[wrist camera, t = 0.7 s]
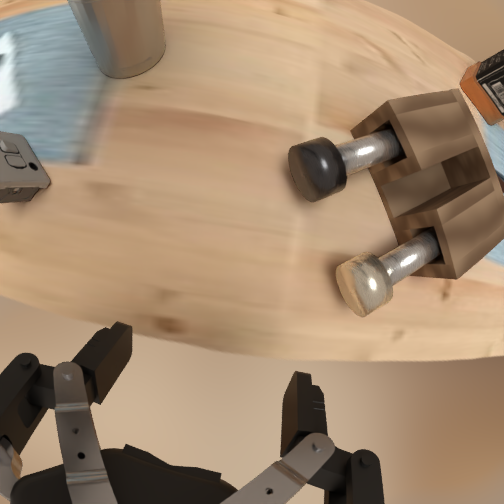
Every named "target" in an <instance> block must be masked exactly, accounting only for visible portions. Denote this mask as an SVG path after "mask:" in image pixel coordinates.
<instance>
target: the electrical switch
mask: <svg viewBox="0 0 504 504" xmlns="http://www.w3.org/2000/svg"><path fill="white" fill-rule="evenodd" d="M49 183H50V179H49V177H48V176H47V174H46V173H45V171H44V169H43V168H42V166H41V165H40V163H39V161H38V160H37V158H36V156H35V155H34V153H33V151H32V150H31V148H30V146H29V145H28V143H27V141H26V139H25V138H24V137H23V136H22V135H19V134H13V133H7V132H1V131H0V203H9V202H22V201H30V200H31V199H32V197H33V196H34V194H35V193H36V192H37V191H38V189H39V188H47V186H48V184H49ZM14 191H16V193H13V192H14ZM20 191H21V192H20ZM19 192H20V193H19Z"/></svg>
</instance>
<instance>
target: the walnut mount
mask: <svg viewBox="0 0 504 504" xmlns="http://www.w3.org/2000/svg"><path fill="white" fill-rule="evenodd" d="M391 128H394V130H395V132H396V134H397V136H398V138H399V140H400V143H401V145H402V147H403V149H404V151H405V153H406V154H403V155H401V156H398V157H395V158H392V159H390V160H387V161H384V162H382V163H379V164H376V165H373V166H371V167H368V169H369V171H370V173H371V175H372V178H373V180H374V182H375V185H376V187H377V189H378V192H379V194H380V196H381V199H382V201H383V204H384V206H385V209H386V211H387V214H388V217H389V219H390V222H391V224H392V227H393V230H394V233H395V235H396V238H397V241H398V244H399V246H401V245H402V244H404V243H406V242H408V241H409V240H411V239H413V238H414V237H416V236H418V235H419V234H421V233H423V232H424V231H426V230H428V229H429V228H431V227H433V226H434V228H435V231H436V234H437V237H438V240H439V244H440V247H441V250H442V254H440V255H439V256H437V257H436V258H434V259H433V260H431V261H430V262H429V263H427V264H426V265H424V266H423V267H421V268H420V269H418V270H416V271H415V272H413V273H412V274H410V275H409V276H421V277H433V278H445V279H458V278H460V277H461V276H462V275H463V274H464V273H466V272H467V271H468V270H469V269H470V268H472V267H473V266H474V265H475V264H476V263H477V262H479V261H480V260H481V259H482V258H483V257H484V256H485V255H486V254H488V253H489V252H490V251H491V250H492V249H493V248H494V247H495V246H496V245H497V244H498V243H500V242H501V241H502V240H503V239H504V196H503V192H502V189H501V186H500V183H499V180H498V177H497V174H496V171H495V168H494V166H493V163H492V160H491V158H490V155H489V152H488V150H487V147H486V145H485V143H484V140H483V138H482V135H481V133H480V131H479V129H478V126H477V124H476V122H475V120H474V118H473V116H472V114H471V112H470V110H469V108H468V106H467V104H466V102H465V100H464V98H463V96H462V94H461V92H460V91H459V89H451V90H448V91H441V92H433V93H427V94H420V95H414V96H408V97H403V98H397V99H392V100H388V101H386V102H385V103H384V104H383V105H381V106H380V107H379V108H378V109H376V110H375V111H374V112H373V113H372V114H370V115H369V116H368V117H367V118H365V119H364V120H363V121H362V122H361V123H359V124H358V125H357V126H356V127H355V128H353V129H352V130H351V133H352V135H353V137H354V139H357V138H361V137H364V136H367V135H371V134H374V133H377V132H381V131H384V130H388V129H391Z"/></svg>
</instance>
